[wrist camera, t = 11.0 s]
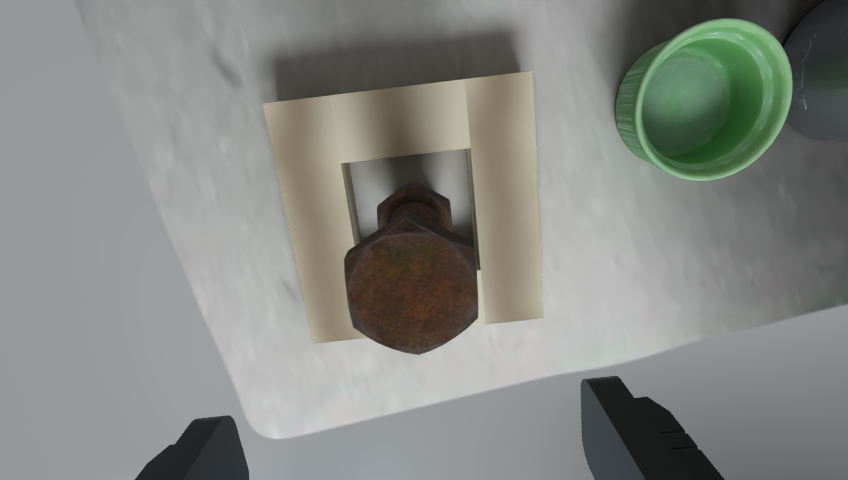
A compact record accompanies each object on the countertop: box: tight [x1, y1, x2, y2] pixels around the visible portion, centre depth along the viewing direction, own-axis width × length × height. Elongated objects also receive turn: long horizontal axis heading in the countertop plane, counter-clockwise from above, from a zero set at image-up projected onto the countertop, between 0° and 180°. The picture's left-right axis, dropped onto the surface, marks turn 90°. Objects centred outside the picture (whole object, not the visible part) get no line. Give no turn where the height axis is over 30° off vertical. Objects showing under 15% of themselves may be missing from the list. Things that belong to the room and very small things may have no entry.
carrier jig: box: [262, 71, 543, 344], centre depth 30 cm, size 16×16×3 cm
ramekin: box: [615, 18, 793, 181], centre depth 28 cm, size 9×9×4 cm
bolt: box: [344, 182, 478, 355], centre depth 24 cm, size 6×5×15 cm
